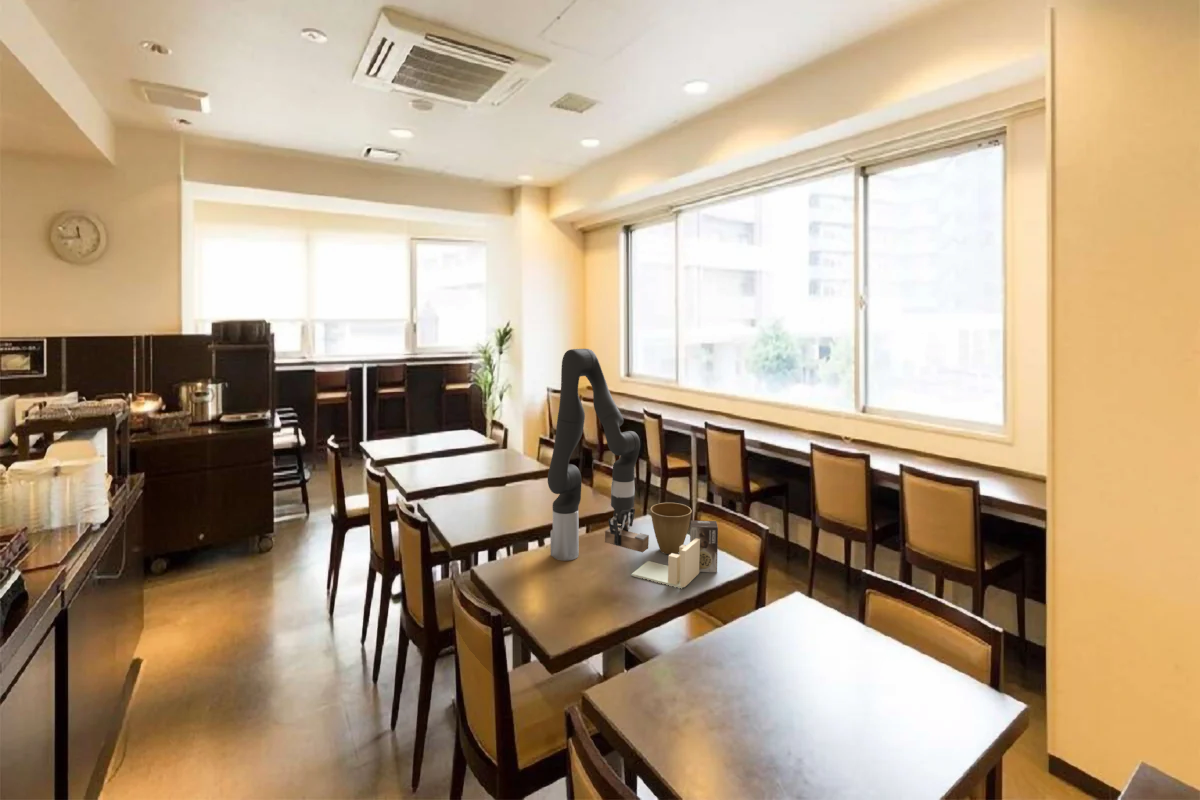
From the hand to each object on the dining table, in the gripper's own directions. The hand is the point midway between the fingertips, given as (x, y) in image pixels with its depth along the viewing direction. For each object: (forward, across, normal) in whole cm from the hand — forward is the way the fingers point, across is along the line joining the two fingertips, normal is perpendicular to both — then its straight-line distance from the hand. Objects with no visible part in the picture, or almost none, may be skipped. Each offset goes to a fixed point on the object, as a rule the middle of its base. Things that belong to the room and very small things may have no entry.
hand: (621, 542), depth 196 cm
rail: (0, 0, +2) cm, 2 cm away
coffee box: (+12, -21, +21) cm, 32 cm away
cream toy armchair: (+12, -9, +12) cm, 19 cm away
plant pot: (+12, -29, +5) cm, 32 cm away
